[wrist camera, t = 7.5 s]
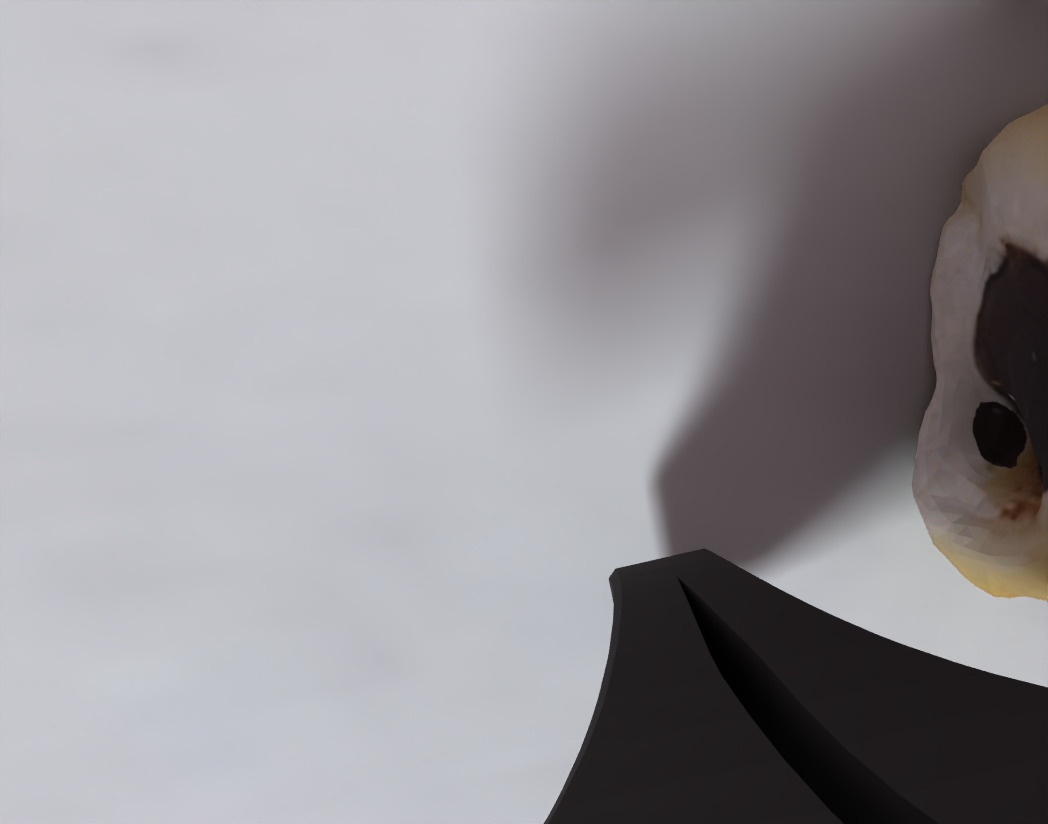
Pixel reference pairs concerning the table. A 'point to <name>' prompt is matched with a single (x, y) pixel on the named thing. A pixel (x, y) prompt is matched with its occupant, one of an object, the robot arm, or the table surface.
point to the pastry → (992, 372)
